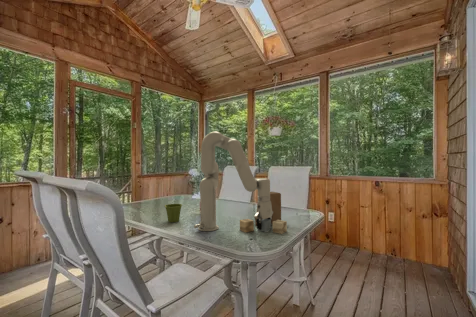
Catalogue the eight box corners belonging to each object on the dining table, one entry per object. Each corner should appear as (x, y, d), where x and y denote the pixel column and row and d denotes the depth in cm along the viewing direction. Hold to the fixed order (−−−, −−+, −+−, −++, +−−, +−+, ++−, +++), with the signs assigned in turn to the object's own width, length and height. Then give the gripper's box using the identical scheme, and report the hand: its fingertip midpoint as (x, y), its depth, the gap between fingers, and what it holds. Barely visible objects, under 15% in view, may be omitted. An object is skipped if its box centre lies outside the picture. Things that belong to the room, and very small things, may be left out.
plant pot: (161, 223, 159) (161, 206, 159) (171, 218, 170) (170, 203, 170) (176, 224, 156) (176, 207, 156) (185, 219, 167) (185, 204, 167)
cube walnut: (264, 226, 148) (264, 217, 148) (255, 226, 150) (255, 216, 150) (266, 224, 153) (266, 215, 153) (257, 223, 155) (257, 214, 155)
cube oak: (245, 232, 136) (245, 222, 136) (239, 230, 141) (239, 220, 141) (253, 231, 139) (253, 220, 139) (248, 228, 144) (248, 218, 144)
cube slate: (266, 232, 137) (266, 221, 137) (257, 230, 140) (257, 220, 140) (271, 229, 142) (270, 219, 142) (262, 228, 145) (262, 218, 145)
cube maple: (281, 234, 133) (281, 223, 133) (272, 232, 136) (272, 221, 136) (286, 231, 137) (286, 221, 137) (277, 229, 141) (277, 219, 141)
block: (281, 223, 156) (281, 192, 156) (269, 225, 151) (268, 194, 152) (273, 219, 165) (273, 191, 165) (261, 221, 160) (260, 192, 161)
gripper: (259, 201, 132) (260, 232, 132) (277, 197, 145) (277, 225, 145) (249, 200, 137) (250, 229, 137) (267, 196, 150) (267, 223, 150)
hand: (264, 227), depth 141 cm, fingers open, 9 cm apart
